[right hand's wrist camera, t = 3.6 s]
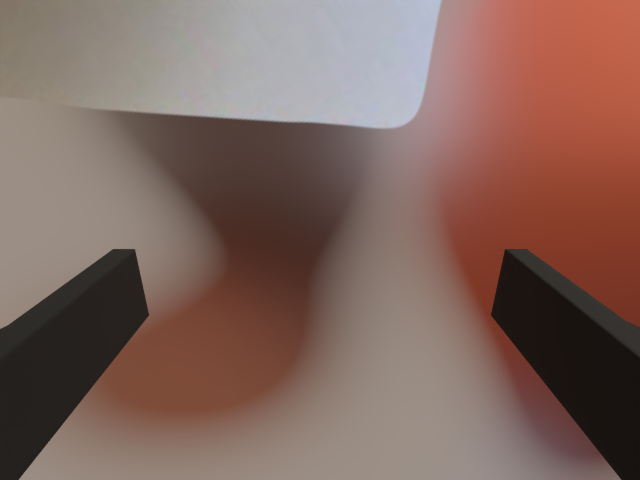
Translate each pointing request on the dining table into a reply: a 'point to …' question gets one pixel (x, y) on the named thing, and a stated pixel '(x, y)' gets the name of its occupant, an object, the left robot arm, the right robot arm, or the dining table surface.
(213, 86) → the dining table surface
